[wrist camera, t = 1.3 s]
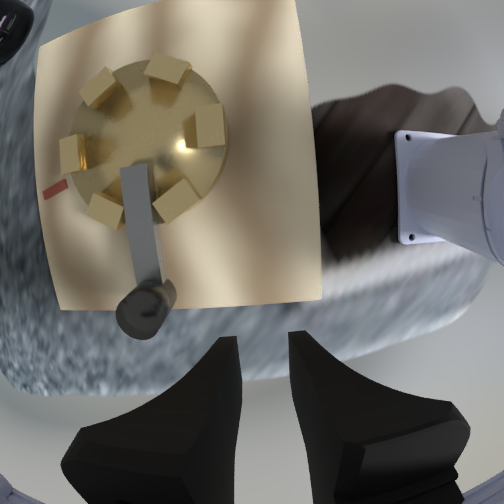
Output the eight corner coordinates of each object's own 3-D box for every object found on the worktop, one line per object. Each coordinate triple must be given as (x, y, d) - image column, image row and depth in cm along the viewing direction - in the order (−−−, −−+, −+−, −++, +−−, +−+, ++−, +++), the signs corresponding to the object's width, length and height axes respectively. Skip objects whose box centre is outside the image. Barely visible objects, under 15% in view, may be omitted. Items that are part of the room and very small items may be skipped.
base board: (289, -4, 16) (291, -16, 14) (317, 291, 21) (322, 300, 19) (49, 51, 16) (38, 46, 15) (69, 302, 22) (59, 310, 20)
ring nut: (223, 57, 16) (209, 17, 10) (244, 294, 19) (239, 337, 14) (82, 90, 16) (35, 72, 11) (106, 300, 20) (68, 336, 14)
